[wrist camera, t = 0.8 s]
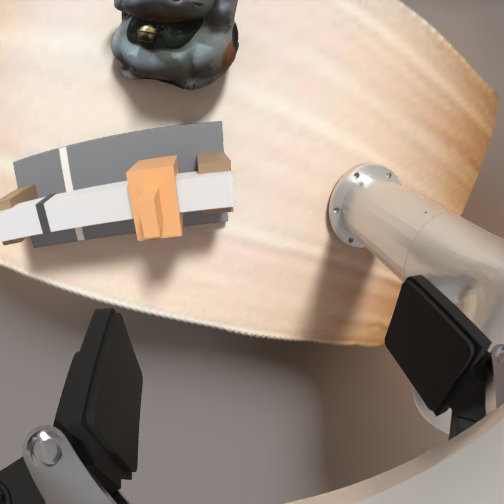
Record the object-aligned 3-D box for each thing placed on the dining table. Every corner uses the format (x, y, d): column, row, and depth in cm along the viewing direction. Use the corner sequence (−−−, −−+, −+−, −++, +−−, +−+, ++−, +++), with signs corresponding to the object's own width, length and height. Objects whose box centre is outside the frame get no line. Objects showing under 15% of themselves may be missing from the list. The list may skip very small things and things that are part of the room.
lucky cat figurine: (96, 71, 26) (53, -8, 12) (154, 9, 27) (140, -70, 13) (207, 109, 27) (205, 9, 13) (258, 38, 28) (279, -51, 14)
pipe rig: (220, 121, 32) (230, 124, 23) (226, 216, 37) (237, 251, 29) (18, 160, 28) (-23, 178, 19) (38, 243, 33) (7, 278, 25)
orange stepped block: (177, 155, 28) (170, 174, 20) (183, 212, 31) (180, 253, 22) (138, 160, 27) (116, 182, 19) (147, 217, 30) (131, 259, 22)
